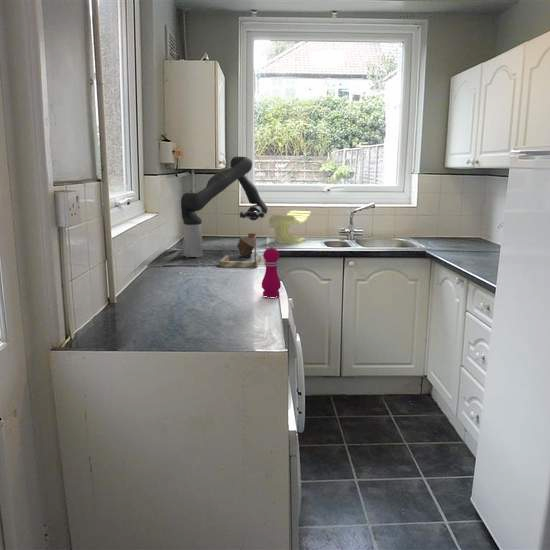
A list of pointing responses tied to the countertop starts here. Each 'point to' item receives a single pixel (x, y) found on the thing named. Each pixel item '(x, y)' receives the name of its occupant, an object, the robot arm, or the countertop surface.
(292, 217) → the slatted curved stool
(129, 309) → the countertop surface
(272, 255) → the pepper mill
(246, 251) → the rock
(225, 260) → the corral
